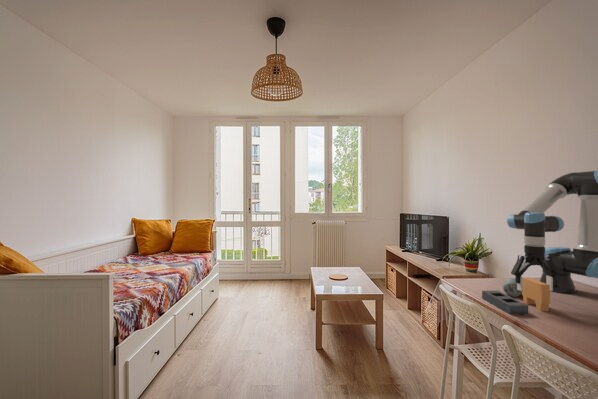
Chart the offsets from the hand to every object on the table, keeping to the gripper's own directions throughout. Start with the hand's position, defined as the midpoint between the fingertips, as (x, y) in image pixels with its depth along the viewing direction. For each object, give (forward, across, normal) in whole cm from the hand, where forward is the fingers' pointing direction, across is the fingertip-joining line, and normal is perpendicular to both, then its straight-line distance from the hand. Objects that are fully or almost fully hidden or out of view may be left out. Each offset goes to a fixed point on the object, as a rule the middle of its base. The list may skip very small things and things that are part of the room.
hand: (534, 290), depth 134 cm
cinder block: (+8, +14, -1) cm, 16 cm away
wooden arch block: (+8, 0, 0) cm, 8 cm away
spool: (+8, -2, -17) cm, 19 cm away
